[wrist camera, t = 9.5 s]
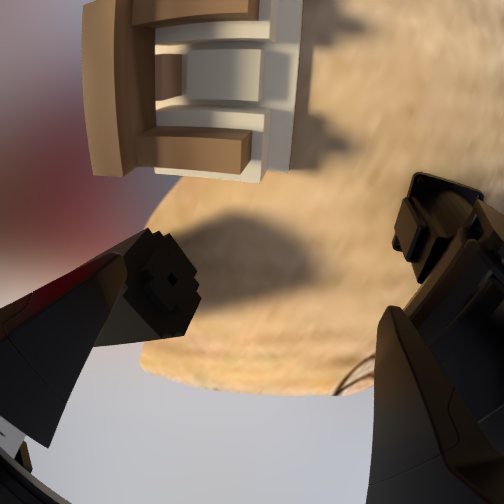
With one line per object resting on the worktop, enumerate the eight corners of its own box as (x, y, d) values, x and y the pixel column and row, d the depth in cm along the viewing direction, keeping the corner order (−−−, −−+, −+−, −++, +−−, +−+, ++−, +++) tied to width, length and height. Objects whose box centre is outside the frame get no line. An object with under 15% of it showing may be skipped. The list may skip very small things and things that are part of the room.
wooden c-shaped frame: (303, -11, 12) (300, -27, 9) (289, 169, 20) (283, 188, 17) (134, 3, 13) (105, -2, 11) (138, 156, 21) (113, 172, 18)
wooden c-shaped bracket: (260, -8, 10) (241, -30, 7) (250, 159, 16) (232, 186, 13) (126, 9, 11) (83, 5, 8) (130, 152, 17) (93, 175, 14)
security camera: (76, 257, 31) (27, 314, 23) (182, 194, 23) (112, 273, 15) (110, 299, 34) (70, 358, 26) (225, 260, 26) (184, 352, 18)
